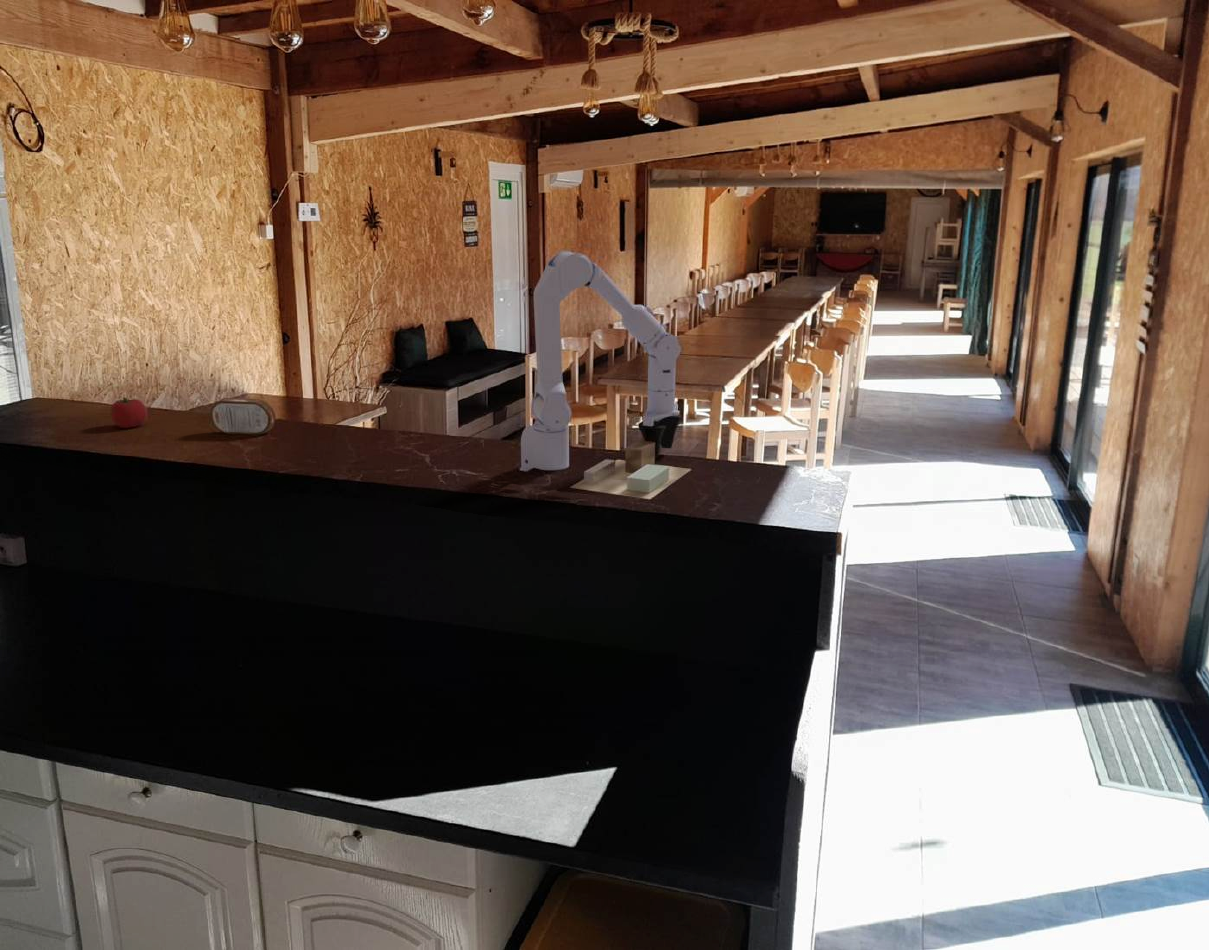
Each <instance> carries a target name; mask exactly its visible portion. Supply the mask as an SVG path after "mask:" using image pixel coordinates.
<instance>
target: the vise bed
mask: <svg viewBox="0 0 1209 950" xmlns="http://www.w3.org/2000/svg"><path fill="white" fill-rule="evenodd" d="M656 465H657V466H665V467H669V480H667V481H666V482H664V483H663V484H662V485H660V486H659V487H657V488H656V489H654V490H653V491H652V492H650V493H645V492H638V491H631V490H627V477H628V476H630V475H631V474H633V473H627V472H625V460H624V459H616V460H615V473H613V474H612V475H610V476H608V477H607V478H605V479H604V480H602V481H600V482H599V483H597V484H595V485H594V486H593V485H586V484H584V479H582V480H580V481H579V482H577V483H575V484H573V485H571V486H570V487H569V488H570V489H578V490H584V491H585V490H586V491H590V492H591V491H592V492H598V493H604V494H611V495H617V496H618V495H619V496H625V497H632V498H638V499H645V500H651V499H653V498H654V497H656V496H657V495H659V494H660V493H661V492H663V491H664V490H665V489H667V488H668V487H669V486H670V485H672V484H674V483H675V482H676V481H678V480H679V479H681V478H682V477H683V476H685V475H686V474H687V473H689V472H690V471H692V469H691V468H683V467H675V466H669V465H662V464H656ZM570 493H571V494H572V493H573V494H574V492H572V491H570ZM577 494H579V495H581V493H579V492H577ZM584 495H587V496H588V494H586V493H584ZM590 496H593V497H594V494H593V495H591V494H590ZM597 497H599V498H601V496H599V495H597ZM604 498H606V499H608V497H605V496H604ZM610 499H613V500H614V498H613V497H611V498H610ZM617 500H619V501H621V499H620V498H619V499H618V498H617ZM623 501H625V502H627V499H623Z"/></svg>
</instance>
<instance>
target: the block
mask: <svg viewBox="0 0 1209 950" xmlns="http://www.w3.org/2000/svg"><path fill="white" fill-rule="evenodd" d="M624 450H625V454H624V456H625V472H627V473H634V472H636V471H638V470H639V469H641V468H642V467H644V466H646V465H647V464H650V465H656V464H655V461H656V459H655V458H656V457H655V442H648V441H644V440H640V439H639V440H638V441H636V442H634V443H632V444H630V445H629V446H627V447H625V449H624Z"/></svg>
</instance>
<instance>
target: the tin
mask: <svg viewBox="0 0 1209 950" xmlns="http://www.w3.org/2000/svg"><path fill="white" fill-rule="evenodd" d="M209 412H210V414H209V415H210V421H211V422H212V425H213V426H214V427H215V428H216V430H218V431H219V432H221V433H224V434H231V435H232V434H233V435H253V436H254V435H255V436H257V435H259V436H260V435H263V434H265V433H267V432H268V431H270V430H272V429H273V428H274V426H275V423H276V413H275V411H274V408H273V407H272V406H271V404H269V403H268V402H267V401H265V400H264V399H261V398H245V397H242V398H241V397H224V398H221V399H219V400H218V401H217V402H215V403H214V404H213V405H212V407H211V409H210V411H209Z"/></svg>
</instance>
